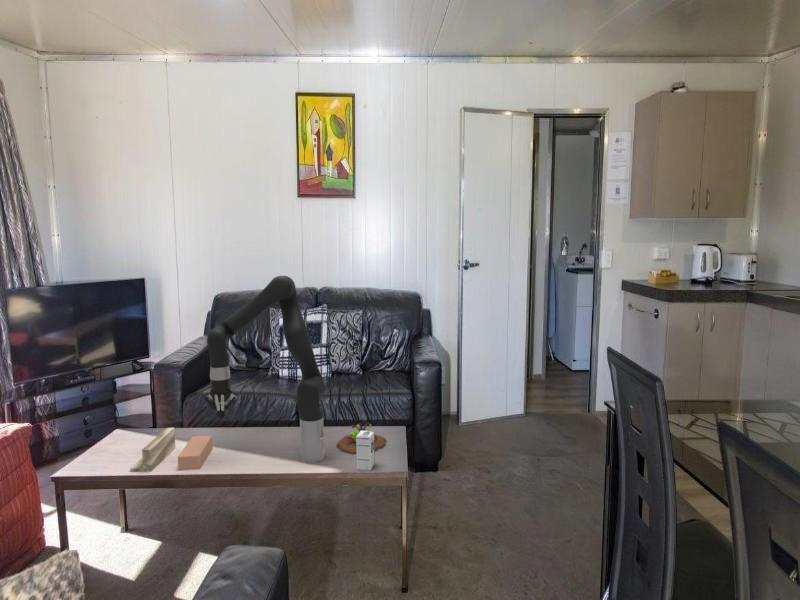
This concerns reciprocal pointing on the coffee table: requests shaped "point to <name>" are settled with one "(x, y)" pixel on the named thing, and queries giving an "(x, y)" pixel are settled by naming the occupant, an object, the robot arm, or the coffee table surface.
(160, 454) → the beige ridged rail
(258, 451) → the coffee table surface
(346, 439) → the plant
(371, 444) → the syrup box
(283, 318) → the robot arm
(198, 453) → the terracotta block
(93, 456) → the coffee table surface
